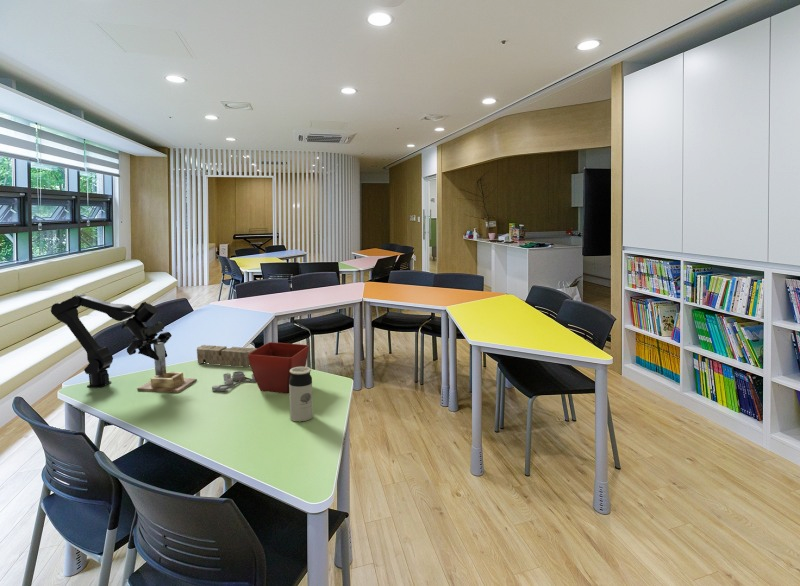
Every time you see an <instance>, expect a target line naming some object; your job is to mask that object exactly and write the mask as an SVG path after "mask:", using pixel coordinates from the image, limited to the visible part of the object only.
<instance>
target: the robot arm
mask: <svg viewBox="0 0 800 586" xmlns="http://www.w3.org/2000/svg"><path fill="white" fill-rule="evenodd" d="M80 307H84V308H86V309H90V310H93V311H96V312H99V313H103V314H106V315H107V316H108V317H109V318H111V319H112V320H115V321H117V322H121V321H122V323H121V324H122V325H121V329H122V330H124V329H128V330H129V331H130V333H132V335H133V336H132V339H133V340H134V341H131V343H129V345H128V347H127V348H126V353H127V354H128V355H129V356H132V355H134V354H138V355H143V356H145V357H147V358H151V359H153V360H154V359H155V360H159V358H158V356H157V354H156V353H155V352H154V348H152V345H153V344H154V343H158V342H163V343H164V347H165V358H168V354H167V350H166V346H165V345H166V343H168V341H169V340H170V339H171V338H172V334H171V332H170V331H164V329H165V325H164V324H163V323H162V322H161V321H158V322H157V323H155V324H153V325H151V326H150V325H148V326H147V325H146V324H145V323H148V322H149V321H151V320H152V318H153V317H154V316H156V314H158V309H157V308H156V306H154V305H152V304H150V303H148V302H146V301H143V302H141V303H140V305H139V306H138V307H137V308H136V307H132V305H130V304H124V303H111V302H109V301H105V300H101V299H98V298H95V297H92V296H89V295H86V294H83V293H82V294H75V295H74V296H71V297H70V298H68V299H66V300H64V301H60V302H55V303H53V304H52V306H51V308H50V313H51V314H52V315H53V316H54V318H55V319H56V320H57V321H59V322H61V323H63V324H65V325H66V326H67V327H68V329H69V331H71V333H72V334H73V336H74V337H75V339H76V340H77V341H78V343H79V344H80V345H81V346H82V348H83V350H84V351H85V352H86V356H87V357H86V358H87V361H88V365H87V366H86V367H85V368H84V369H83V370H84V373H85V375H88V382H89V384H87V385H86V387H88V388H103V387H104V386H106V385H108V384H111V383H112V380H111V381H110V376H109V373H108V371H109V370H108V369H110V368H111V364H113V360H114V356H113V353H112V352H111V351H110V350H109V348H108V347H107V346H104V347H102V346H100V345H99V344H98V343H97V341H96V340H95V339H94V337H93V336H92V334H91V333H90V331H89V330H88V329H87V328H86V326H85V325H84V323H83V322H82V321H81V319H80V318H79V311H78V309H79V308H80ZM124 320H126V321H124ZM163 331H164V332H163ZM158 333H159V334H158ZM135 339H136V340H135ZM137 350H138V352H137Z"/></svg>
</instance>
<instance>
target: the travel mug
mask: <svg viewBox="0 0 800 586" xmlns="http://www.w3.org/2000/svg"><path fill="white" fill-rule="evenodd" d="M311 372H312V369H311V367H308V366H305V367H295V368H292V369H290V373H291V376H290V378H289V392H290V393H289V416H290V418H289V419H290V420H292V421H293V422H297V421H299V423H301V422H300V421H303V422H307V421H309V420H311V419H313V417H314V413H313V410H314V409H313V377H312V375H311Z"/></svg>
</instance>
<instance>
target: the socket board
mask: <svg viewBox="0 0 800 586" xmlns="http://www.w3.org/2000/svg"><path fill="white" fill-rule="evenodd" d="M197 381H198V379H197V378H192V377H191V378H187V377H186V378H185V377H184V372H180V371H179V372H178V371H166V374H165V375H161V376H157V375H154V376H153V377H151V378H150V381H148V382H146V383H144V384H143V385H141V386H139V387H137V388H136V390H142V391H141V392H156V391H157V393H158V392H159V393H160V392H161V393H181V392H183V391H184V390H185V389H186V388H189V387H190V386H191V385H193V384H194V383H196V382H197Z"/></svg>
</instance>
